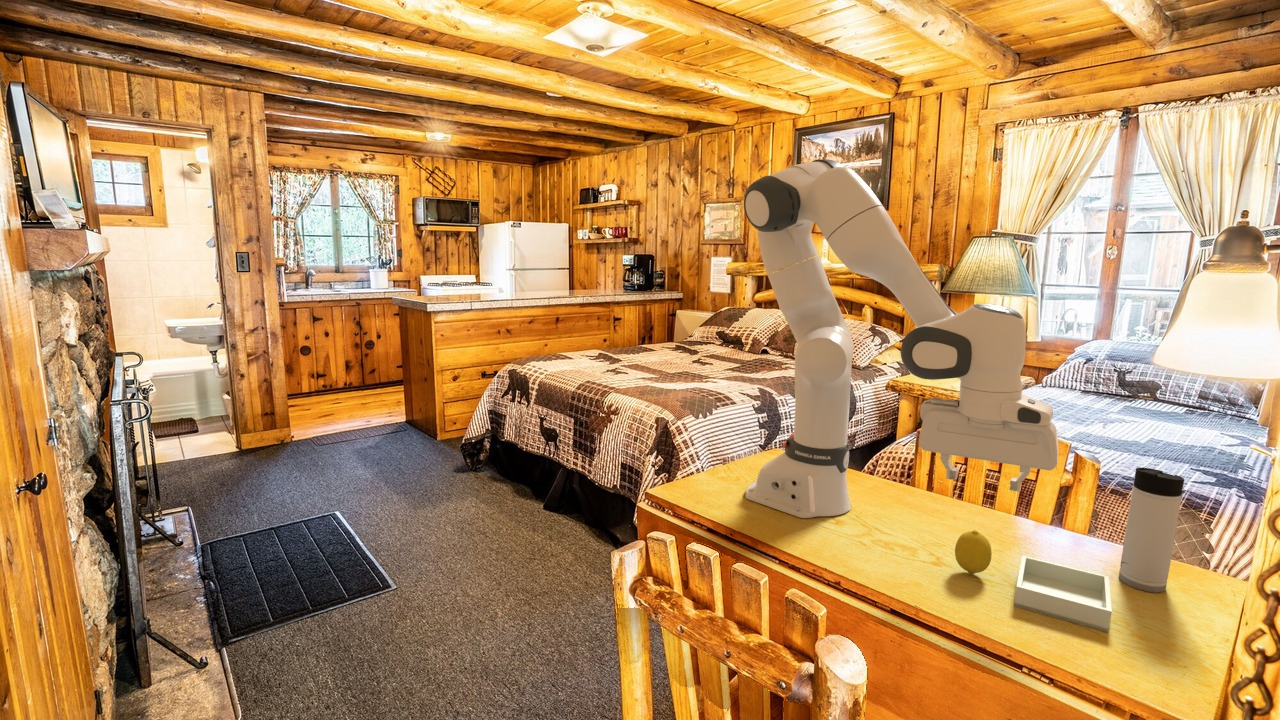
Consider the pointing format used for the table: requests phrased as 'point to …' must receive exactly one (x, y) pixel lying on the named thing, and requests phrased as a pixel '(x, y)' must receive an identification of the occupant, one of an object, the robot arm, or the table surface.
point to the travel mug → (1151, 529)
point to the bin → (1064, 593)
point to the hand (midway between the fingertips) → (982, 484)
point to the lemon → (973, 552)
